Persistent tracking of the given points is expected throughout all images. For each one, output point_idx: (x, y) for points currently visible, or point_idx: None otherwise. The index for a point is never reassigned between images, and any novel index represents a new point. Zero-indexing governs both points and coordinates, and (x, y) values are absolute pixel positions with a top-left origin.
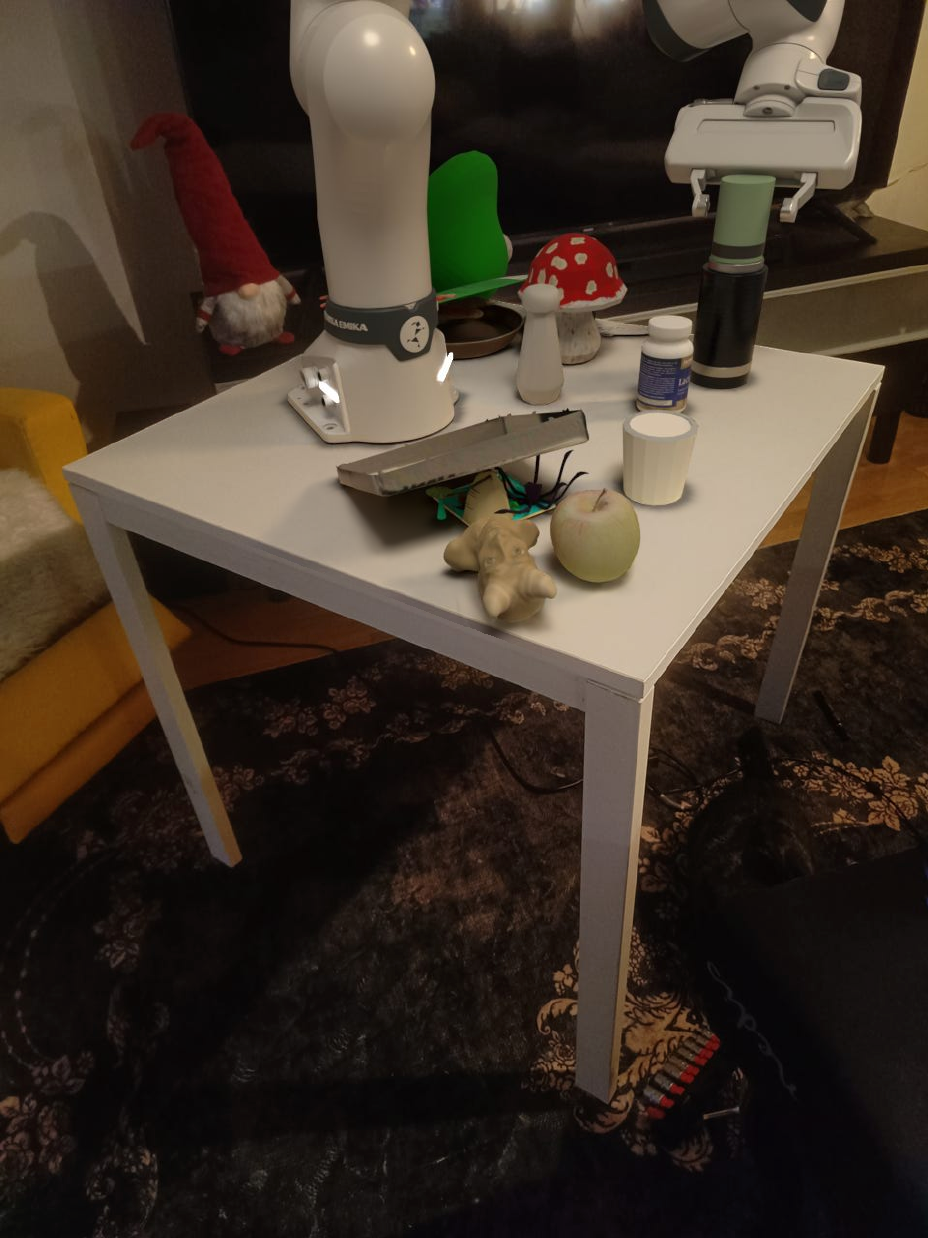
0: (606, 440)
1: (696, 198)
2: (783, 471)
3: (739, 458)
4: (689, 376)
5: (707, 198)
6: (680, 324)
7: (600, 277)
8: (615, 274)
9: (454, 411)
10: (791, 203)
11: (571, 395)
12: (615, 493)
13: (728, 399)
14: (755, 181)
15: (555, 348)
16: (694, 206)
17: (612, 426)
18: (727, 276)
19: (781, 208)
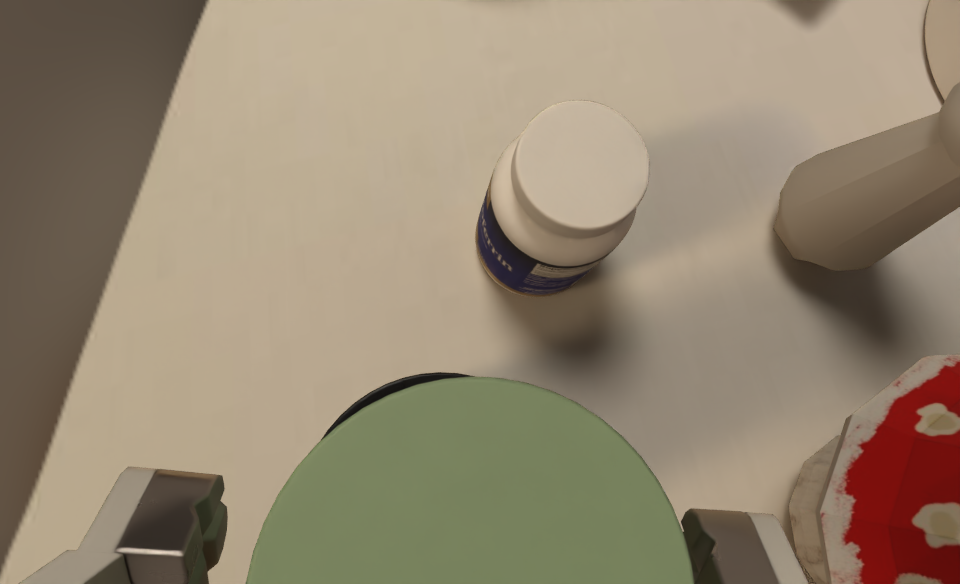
0: (601, 59)
1: (787, 560)
2: (237, 8)
3: (327, 41)
4: (483, 207)
5: (716, 562)
6: (548, 141)
7: (942, 460)
8: (914, 577)
9: None
10: (136, 510)
11: (750, 262)
12: None
13: (383, 337)
14: (403, 468)
15: (855, 163)
16: (763, 515)
17: None
18: (454, 374)
19: (209, 490)
